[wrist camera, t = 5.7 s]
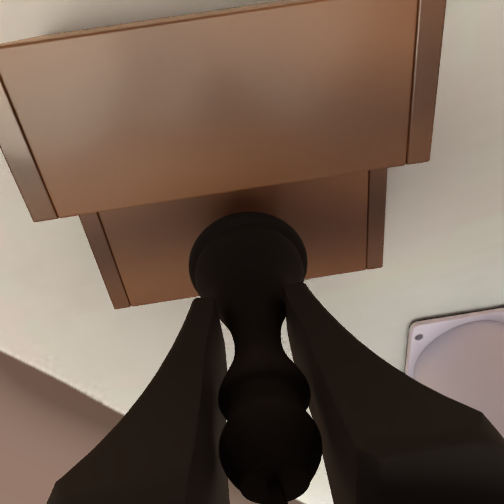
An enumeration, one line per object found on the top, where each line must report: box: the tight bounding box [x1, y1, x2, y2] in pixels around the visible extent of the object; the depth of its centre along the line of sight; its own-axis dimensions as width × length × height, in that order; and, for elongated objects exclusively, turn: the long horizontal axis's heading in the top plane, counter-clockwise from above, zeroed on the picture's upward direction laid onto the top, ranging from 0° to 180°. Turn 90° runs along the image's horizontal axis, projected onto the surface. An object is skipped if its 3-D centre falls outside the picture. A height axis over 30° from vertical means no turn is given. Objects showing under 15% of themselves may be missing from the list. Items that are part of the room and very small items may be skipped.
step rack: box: [0, 0, 446, 309], centre depth 17 cm, size 12×13×6 cm
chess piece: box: [189, 212, 323, 504], centre depth 11 cm, size 4×4×10 cm
